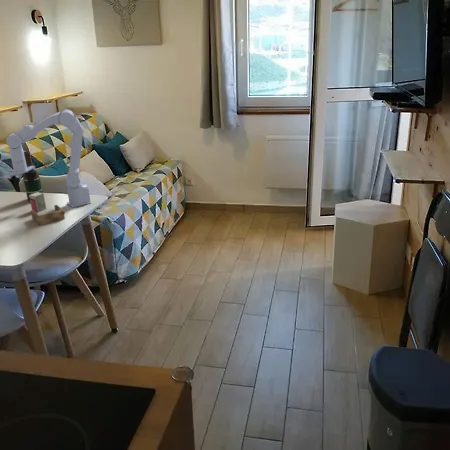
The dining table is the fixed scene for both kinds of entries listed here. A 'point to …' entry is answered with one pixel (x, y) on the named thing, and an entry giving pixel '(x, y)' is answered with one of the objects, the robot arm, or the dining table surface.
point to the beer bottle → (37, 181)
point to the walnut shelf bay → (48, 216)
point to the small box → (37, 201)
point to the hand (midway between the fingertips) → (24, 189)
